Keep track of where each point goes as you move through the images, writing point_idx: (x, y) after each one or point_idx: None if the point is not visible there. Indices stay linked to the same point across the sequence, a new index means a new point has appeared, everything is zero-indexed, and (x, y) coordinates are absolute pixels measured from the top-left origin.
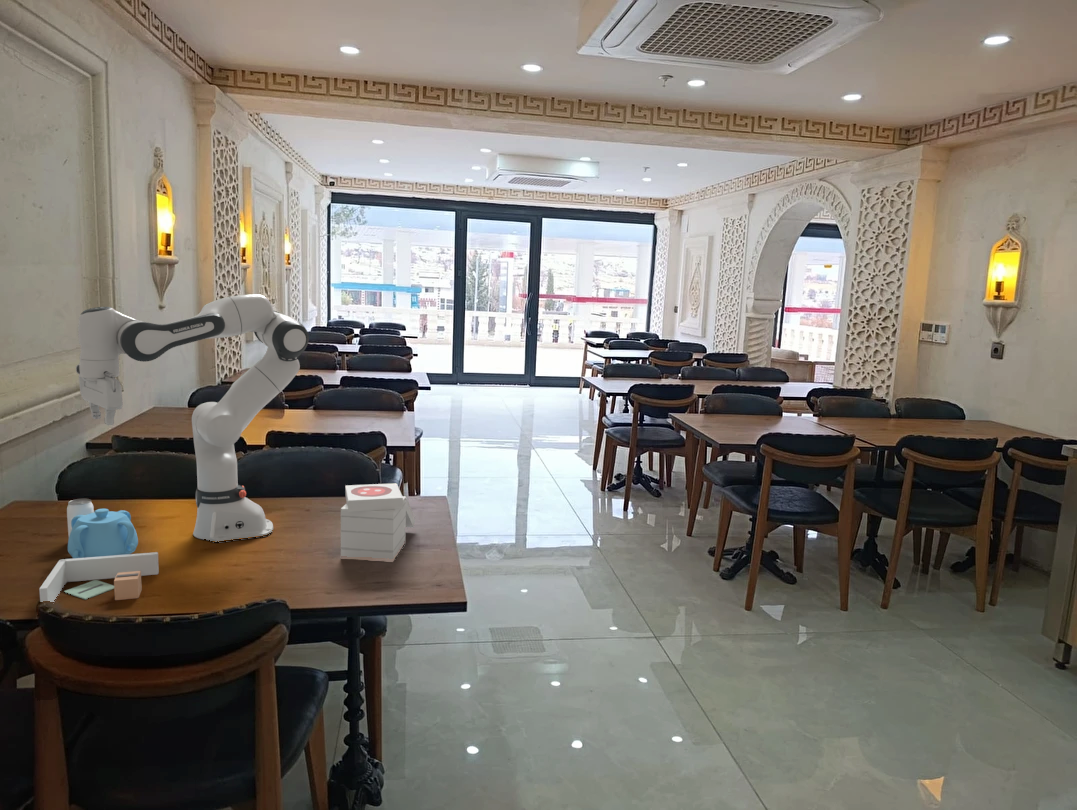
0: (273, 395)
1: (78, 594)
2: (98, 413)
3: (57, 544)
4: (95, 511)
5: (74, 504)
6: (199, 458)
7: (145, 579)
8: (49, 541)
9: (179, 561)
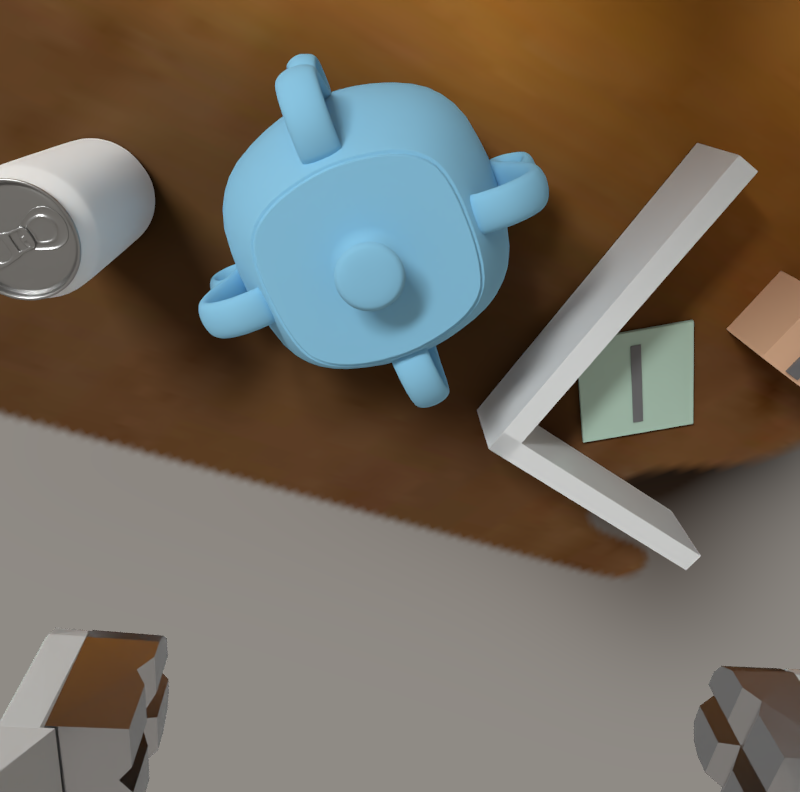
0: None
1: (646, 424)
2: (133, 739)
3: None
4: (368, 309)
5: (64, 286)
6: None
7: None
8: None
9: (669, 7)
